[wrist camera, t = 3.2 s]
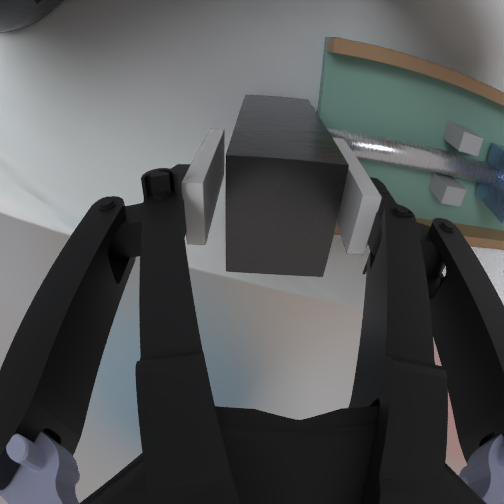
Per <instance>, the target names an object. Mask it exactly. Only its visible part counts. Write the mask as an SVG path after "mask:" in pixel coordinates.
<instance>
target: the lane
mask: <svg viewBox="0 0 504 504" xmlns="http://www.w3.org/2000/svg"><path fill="white" fill-rule="evenodd" d="M317 114H318V116H319V117H320V119H321V120H322V122H323V123H324V125H325V127H326V128H331V129H338V130H345V131H352V132H359V133H365V134H371V135H376V136H382V137H387V138H392V139H397V140H402V141H407V142H412V143H416V144H421V145H425V146H429V147H433V148H437V149H441V150H445V151H449V152H453V153H457V154H460V155H464V156H467V157H471V158H474V159H477V160H481V161H484V162H486V161H487V158H488V155H489V151H490V148H491V145H492V143H495V144H497V145H500V146H503V147H504V93H503V92H501V91H499V90H497V89H495V88H493V87H491V86H489V85H487V84H485V83H483V82H480V81H478V80H476V79H474V78H471V77H469V76H467V75H464V74H462V73H460V72H457V71H455V70H452V69H449V68H447V67H444V66H441V65H439V64H436V63H433V62H430V61H427V60H424V59H421V58H418V57H415V56H412V55H408V54H405V53H402V52H398V51H395V50H391V49H387V48H383V47H379V46H375V45H371V44H367V43H362V42H357V41H352V40H347V39H342V38H336V37H325V47H324V57H323V67H322V76H321V85H320V94H319V102H318V110H317ZM358 161H359V162H360V164H361V165H362V167H363V168H364V170H365V171H366V173H367V174H368V176H369V177H373V178H377V179H378V180H380V181H381V182H382V183H384V185H385V186H386V188H387V190H388V191H389V192H390V195H392V197H393V198H394V200H395V202H396V203H397V204H399V205H402V206H404V207H406V208H408V209H410V210H411V211H412V212H413V213H414V215H415V218H416V222H418V223H421V224H424V225H427V226H430V227H431V224H432V222H433V219H435V218H443V219H447V220H448V221H451V222H452V223H453V224H454V225H456V226H457V228H458V229H459V230H460V231H461V233H462V235H463V236H464V238H465V239H466V241H467V242H468V244H469V245H470V246H473V247H483V248H492V249H501V250H504V224H502V223H501V222H500V221H499V220H498V219H497V218H496V216H495V215H494V214H493V213H492V212H491V211H490V210H489V208H488V207H487V206H486V205H485V204H484V203H483V202H482V201H481V200H480V199H479V198H478V196H477V195H476V194H475V192H476V189H477V187H478V184H479V182H475V181H471V180H467V179H463V178H458V177H454V176H450V175H445V174H441V173H436V172H431V171H426V170H421V169H416V168H411V167H405V166H400V165H394V164H388V163H382V162H375V161H369V160H362V159H358ZM334 234H338V235H341V233H340V230H339V227H338V223H337V222H336V227H335V231H334Z"/></svg>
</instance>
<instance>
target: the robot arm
mask: <svg viewBox="0 0 504 504" xmlns="http://www.w3.org/2000/svg"><path fill="white" fill-rule="evenodd" d="M62 1H63V0H0V33H1V32H6V31H11V30H16V29H20V28H23V27H26V26H28V25H30V24H32V23H34V22H36V21H38V20H39V19H41V18H42V17H44V16H45V15H47V14H48V13H49V12H51V11H52V10H53V9H54V8H55V7H57V6H58V5H59V4H60V3H61V2H62ZM224 130H225V129H210V130H209V132H208V134H207V136H206V138H205V139H204V141H203V143H202V145H201V147H200V148H199V150H198V152H197V154H196V156H195V158H194V160H193V162H192V163H191V164H178V165H176V166H174V167H173V168H171V169H168V168H159V169H154V170H151V171H148V172H146V173H145V174H143V175H142V177H141V181H142V188H143V195H144V202H143V203H140V204H136V205H130V206H125V205H124V201H123V199H122V198H120V197H115V196H112V197H105V198H102V199H100V200H98V201H97V202H95V203H94V204H93V205H92V206H91V208H90V209H89V210H88V212H87V213H86V215H85V216H84V218H83V219H82V220H81V222H80V223H79V225H78V226H77V228H76V229H75V231H74V232H73V234H72V235H71V237H70V239H69V240H68V241H67V243H66V245H65V246H64V248H63V249H62V251H61V252H60V254H59V256H58V257H57V259H56V260H55V262H54V264H53V265H52V267H51V269H50V271H49V272H48V274H47V276H46V278H45V279H44V281H43V283H42V284H41V286H40V288H39V290H38V291H37V293H36V295H35V297H34V299H33V301H32V303H31V305H30V307H29V308H28V310H27V312H26V314H25V316H24V318H23V320H22V322H21V324H20V327H19V329H18V331H17V333H16V335H15V337H14V339H13V342H12V344H11V346H10V348H9V350H8V353H7V355H6V358H5V360H4V362H3V365H2V367H1V370H0V495H1V496H2V497H3V498H4V499H5V500H6V501H7V502H8V503H9V504H504V305H503V303H502V301H501V299H500V297H499V296H498V294H497V292H496V290H495V288H494V286H493V284H492V283H491V281H490V279H489V277H488V275H487V274H486V272H485V270H484V268H483V267H482V265H481V263H480V262H479V260H478V258H477V257H476V255H475V253H474V252H473V250H472V249H471V247H470V245H469V244H468V242H467V241H466V239H465V238H464V236H463V235H462V233H461V231H460V230H459V229H458V228H457V226H456V225H454V224H453V223H452V222H451V221H448V220H447V219H443V218H435V219H433V222H432V224H431V227H430V226H427V225H424V224H421V223H418V222H416V218H415V215H414V213H413V212H412V211H411V210H410V209H408V208H406V207H404V206H402V205H399V204H397V203H396V202H395V200H394V198H393V197H392V195H390V192H389V191H388V190H387V188H386V186H385V185H384V183H382V182H381V181H380V180H378V179H377V178H373V177H369V176H368V174H367V173H366V171H365V170H364V168H363V167H362V165H361V164H360V162H359V161H358V159H357V158H356V156H355V155H354V153H353V152H352V150H351V149H350V147H349V146H348V144H347V143H346V141H345V140H344V139H341V138H334V137H332V138H333V139H334V141H335V143H336V144H337V146H338V148H339V149H340V151H341V153H342V154H343V156H344V158H345V159H346V161H347V163H348V164H349V168H348V173H347V178H346V182H345V187H344V192H343V196H342V201H341V205H340V210H339V214H338V218H337V223H338V227H339V230H340V233H341V236H342V239H343V243H344V246H345V249H346V252H347V254H359V255H364V253H365V250H366V247H367V244H368V245H369V247H370V250H371V251H370V254H369V257H368V260H367V263H366V265H365V268H364V271H363V274H365V273H366V271H367V275H366V288H365V300H364V311H363V320H362V329H361V337H360V346H359V353H358V360H357V366H356V373H355V379H354V385H353V391H352V397H351V401H350V405H349V408H346V409H345V408H344V409H339V410H335V411H332V412H329V413H325V414H322V415H318V416H315V417H311V418H307V419H303V420H295V419H291V418H286V417H282V416H278V415H274V414H271V413H267V412H263V411H259V410H256V409H244V408H229V407H217V406H215V405H214V401H213V396H212V391H211V387H210V382H209V378H208V372H207V368H206V363H205V358H204V353H203V351H202V345H201V340H200V334H199V329H198V324H197V318H196V312H195V306H194V300H193V294H192V288H191V281H190V275H189V268H188V261H187V254H186V247H185V240H184V238H185V235H186V240H187V244H193V245H206V241H207V237H208V233H209V229H210V226H211V222H212V218H213V214H214V210H215V206H216V202H217V199H218V195H219V191H220V187H221V184H222V180H223V176H224ZM137 256H140V297H139V301H140V302H139V303H140V305H139V306H140V349H141V358H140V361H137V363H136V388H137V389H136V390H137V403H138V415H139V426H140V435H141V443H142V451H143V453H142V454H140V455H139V456H138V457H137V458H136V459H134V460H133V461H132V462H131V463H130V464H128V465H127V466H126V467H125V468H124V469H122V470H121V471H120V472H119V473H118V474H116V475H115V476H114V477H113V478H112V479H110V480H109V481H108V482H106V483H105V484H104V485H103V486H101V487H100V488H99V489H98V490H96V491H95V492H94V493H93V494H91V495H90V496H89V497H87V498H86V499H85V500H83V501H82V502H81V503H79V502H78V500H77V497H76V494H75V485H76V483H77V482H78V481H79V477H80V474H79V471H78V466H77V463H76V460H75V459H74V457H73V454H74V452H75V450H76V447H77V445H78V442H79V440H80V437H81V434H82V430H83V426H84V423H85V419H86V414H87V410H88V406H89V402H90V398H91V394H92V390H93V387H94V383H95V379H96V375H97V372H98V368H99V365H100V361H101V358H102V355H103V351H104V348H105V345H106V342H107V338H108V335H109V332H110V329H111V326H112V323H113V320H114V317H115V314H116V311H117V308H118V305H119V302H120V300H121V297H122V294H123V291H124V289H125V286H126V283H127V280H128V278H129V275H130V273H131V270H132V267H133V265H134V262H135V258H136V257H137ZM445 265H446V276H445V277H444V276H443V274H442V271H443V269H444V267H445ZM433 337H434V341H435V344H436V347H437V350H438V354H439V358H440V361H441V365H442V366H438V365H435V362H434V346H433ZM448 392H449V396H450V401H451V405H452V410H453V414H454V419H455V425H456V430H457V434H458V438H459V443H460V446H461V449H462V452H463V455H464V458H465V460H466V462H467V466H466V467H464V468H463V469H462V470H461V472H460V474H459V476H458V475H457V474H456V473H455V472H454V471H453V470H452V469H451V468H450V467H449V466H448V465H447V464H446V463H445V459H446V446H447V424H448V423H447V422H448Z"/></svg>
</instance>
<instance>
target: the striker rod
mask: <svg viewBox="0 0 504 504" xmlns="http://www.w3.org/2000/svg"><path fill="white" fill-rule="evenodd" d="M332 137H334V138H341V139H344V140H345V141H346V143H347V144H348V146H349V147H350V149H351V150H352V152H353V153H354V155H355V156H356V158H357V159H362V160H369V161H375V162H382V163H388V164H394V165H400V166H405V167H411V168H416V169H421V170H426V171H431V172H436V173H441V174H445V175H450V176H454V177H458V178H463V179H467V180H471V181H475V182H479V184H478V187H477V189H476V192H475V194H476V195H477V196H478V198H479V199H480V200H481V201H482V202H483V203H484V204H485V205H486V206H487V207H488V208H489V210H490V211H491V212H492V213H493V214H494V215H495V216H496V218H497V219H498V220H499V221H500V222H501V223H502V224H504V147H503V146H500V145H497V144H495V143H492V145H491V148H490V151H489V155H488V158H487V161H486V162H484V161H481V160H477V159H474V158H471V157H467V156H464V155H460V154H457V153H453V152H449V151H445V150H441V149H437V148H433V147H429V146H425V145H421V144H416V143H412V142H407V141H402V140H397V139H392V138H387V137H382V136H376V135H371V134H365V133H359V132H352V131H345V130H338V129H331V128H326V127H325V125H324V123H323V122H322V120H321V119H320V117H319V116H318V114H317V113H316V111H315V110H314V108H313V107H312V105H311V104H310V102H309V101H308V100H307V99H298V98H287V97H275V96H260V95H245V98H244V101H243V104H242V107H241V110H240V113H239V116H238V119H237V122H236V125H235V128H234V131H233V134H232V137H231V141H230V144H229V147H228V150H227V153H226V271H228V272H244V273H261V274H278V275H297V276H317V277H323V274H324V270H325V266H326V263H327V259H328V255H329V251H330V247H331V243H332V239H333V235H334V231H335V227H336V222H337V218H338V214H339V210H340V205H341V201H342V196H343V192H344V187H345V182H346V178H347V173H348V168H349V164H348V163H347V161H346V159H345V158H344V156H343V154H342V153H341V151H340V149H339V148H338V146H337V144H336V143H335V141H334V139H333V138H332Z"/></svg>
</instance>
